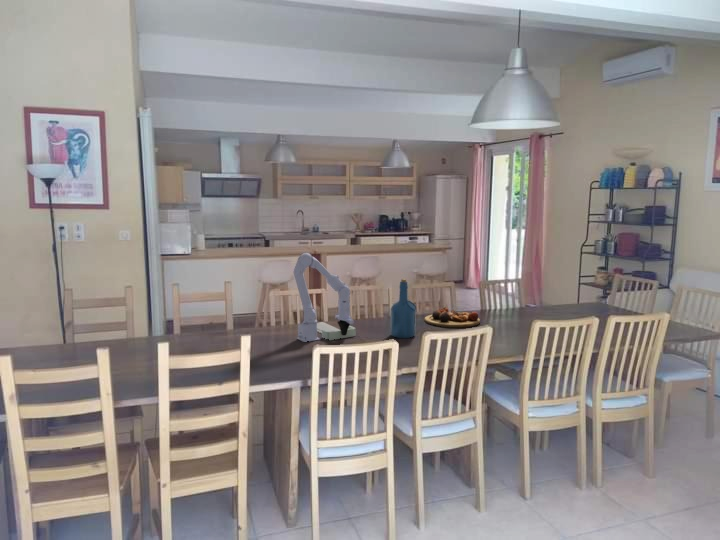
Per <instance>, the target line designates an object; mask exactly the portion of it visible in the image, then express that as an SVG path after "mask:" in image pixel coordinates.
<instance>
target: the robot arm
mask: <svg viewBox="0 0 720 540" xmlns="http://www.w3.org/2000/svg"><path fill="white" fill-rule="evenodd" d="M308 267H310V268H312V269H316V270H317V271H318V272H319V273H320V274H321V275H322V276H323V277H325V279H326V283H327V284H328V285H329V286H330V287H331V288H332V289H333V290H334V291H335V292H337V293H338V314H335V315H334V319H335V320H339V321H337V324H338V326H339V330H341V334H342V335H346V334H347V330H348V327H349V326H351V325H353V324H354V323H355V322H354V319H352V316H351V315H350V314H351V313H350V312H351V311H350V307H351V305H350V303H351V302H350V301H351V300H350V295H351V290H350V287H349V286H348V285H347V284H346V282H344V281H342V280H341V279H340V276H339V275H336V274H332V273H331V272H329V270H328V269H327V268H326V267H325V266H324V265H323V264H322V263H321V262H320V261H319V260H318V259H317V258H316V257H314V256H312V254H311V253H309V252H303V253H301V254H300V255H299V257H298V258H297V260H296V263H295V266H294V269H293V275H294V276H293V277H294V280H295V283H296V286H297V290H298V294H299V298H300V302H301V305H302V310H303V320H302V322H301V323H299V324H298V326H297V337H296V338H297V340H299V341H301V342H303V343H308V342H307V341H309V342H313V341H319V340H321V338H320V337H318V332H317V323H318V320H317V311H316V309H315V308H314V307H313V303H312V300H311V297H310V293H309V290H308V286H307V283H306V279H305V275H304V273H305V271H306V270H307V269H308Z"/></svg>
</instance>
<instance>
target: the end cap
mask: <svg viewBox="0 0 720 540" xmlns="http://www.w3.org/2000/svg"><path fill="white" fill-rule="evenodd" d="M356 331H357V328H356V327H354V326H353V325H349V327H348V330H347V334H346V335H342V334H341V330H340V329H339V330H338V331H331V332H329V331H327V330H322V334H321V338H322V339H324V338H325V339H324V340H326V339H329V341H333V340H334V339H335V340H340V338H341V339H345V338H350V337H351V338H352V337H356V336H357V332H356Z"/></svg>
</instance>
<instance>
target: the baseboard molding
mask: <svg viewBox="0 0 720 540" xmlns="http://www.w3.org/2000/svg"><path fill="white" fill-rule="evenodd" d="M322 330H327V331H329V332H331V331H338V330H340V328H338V327H335V326H333V325H331V324H328V323H326V322H325V321H317V333H319V334H320V335H322Z"/></svg>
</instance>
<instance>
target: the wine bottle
mask: <svg viewBox="0 0 720 540" xmlns="http://www.w3.org/2000/svg"><path fill="white" fill-rule="evenodd" d="M398 288H399V297H398V298H399V299H398V301H397V302H394V303H393V304H392V305H391V307H390V331H389V333H390V335H391V336H392V337H394V338H396V337H397V339H410V337H411V338H413V336H414V337H415V336H416V328H417V327H416V321H417V320H416V318H417V316H416V315H417V306H416V305H415V303H413V302H412V301H411V300H409V299H408V288H409V286H408V281H407V279H406V278H401V281H400V282H399V286H398Z"/></svg>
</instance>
